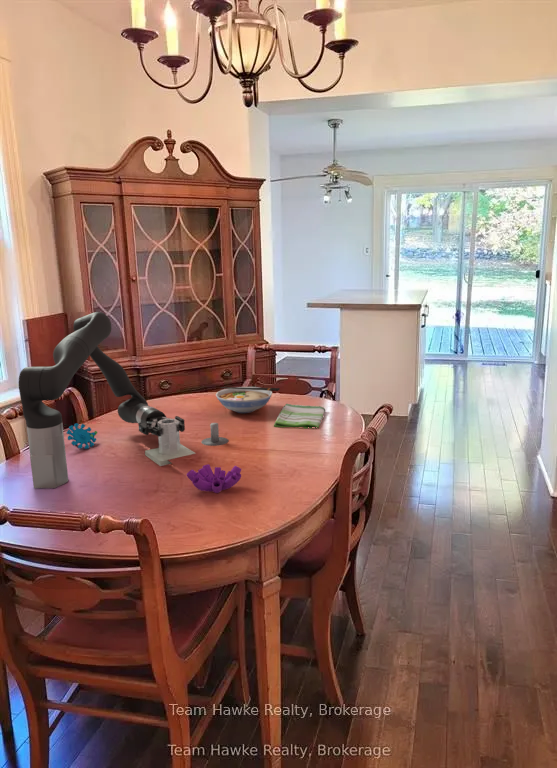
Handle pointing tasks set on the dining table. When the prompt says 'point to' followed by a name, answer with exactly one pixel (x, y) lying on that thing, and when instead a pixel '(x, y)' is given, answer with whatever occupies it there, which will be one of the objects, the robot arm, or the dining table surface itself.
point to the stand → (214, 437)
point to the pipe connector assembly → (214, 478)
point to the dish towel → (300, 416)
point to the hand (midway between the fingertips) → (171, 430)
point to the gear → (81, 436)
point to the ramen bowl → (244, 398)
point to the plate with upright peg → (163, 459)
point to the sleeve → (169, 437)
